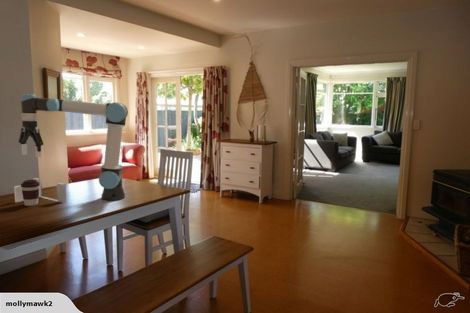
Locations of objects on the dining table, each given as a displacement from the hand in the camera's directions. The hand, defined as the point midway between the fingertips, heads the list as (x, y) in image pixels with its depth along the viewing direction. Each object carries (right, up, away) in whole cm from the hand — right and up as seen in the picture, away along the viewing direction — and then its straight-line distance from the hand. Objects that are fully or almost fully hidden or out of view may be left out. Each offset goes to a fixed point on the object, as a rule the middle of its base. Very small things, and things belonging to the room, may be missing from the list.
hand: (31, 155), depth 196 cm
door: (-12, -28, +16) cm, 34 cm away
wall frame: (0, -28, +19) cm, 34 cm away
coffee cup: (-3, -30, +6) cm, 31 cm away
